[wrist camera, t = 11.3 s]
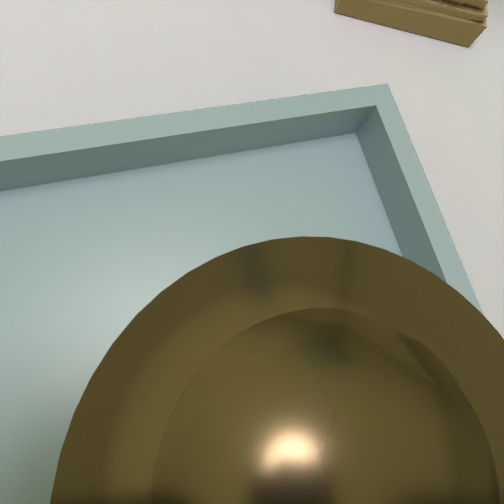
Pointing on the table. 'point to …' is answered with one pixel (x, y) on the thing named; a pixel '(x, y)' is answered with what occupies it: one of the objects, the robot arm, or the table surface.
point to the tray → (178, 231)
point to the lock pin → (294, 388)
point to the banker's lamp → (423, 17)
